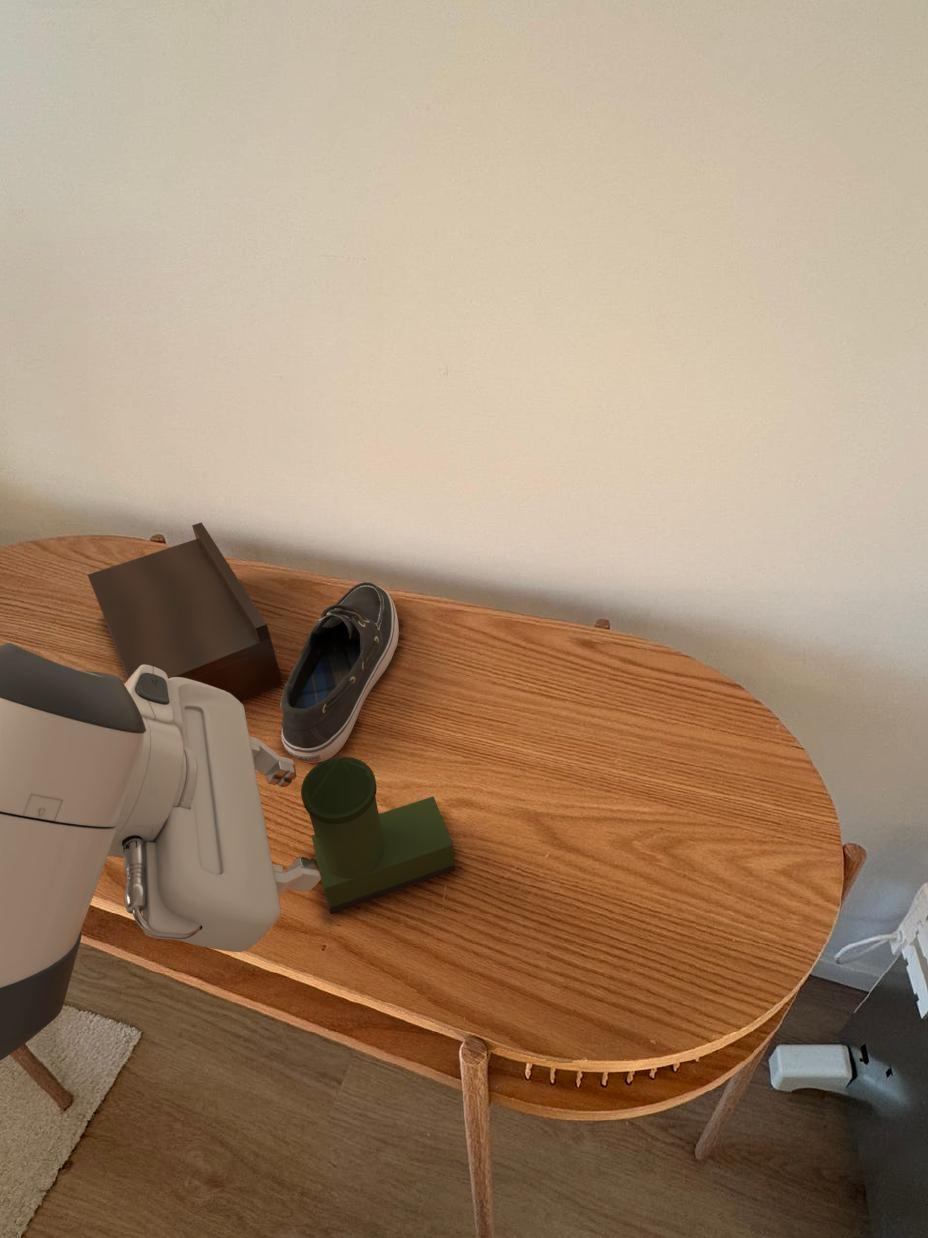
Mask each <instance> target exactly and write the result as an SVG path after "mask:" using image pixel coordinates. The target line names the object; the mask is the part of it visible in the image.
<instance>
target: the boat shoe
mask: <svg viewBox="0 0 928 1238" xmlns="http://www.w3.org/2000/svg"><path fill="white" fill-rule="evenodd" d="M399 630H400V629H399V619H398V613H397V610H396V605H395V603H394V600H393V598H392V597H391V595H390V594H389V592H388V591H386V589H384V588H382V587H381V586H378V585H376V584H374V583H372V582H360V583H357V584H355V585H354V586H353V587H351V588H350V589H349V590H348V591H347V592H346V593H345V594H344V595H343V596H342V597H341V598H340V599H339V600H338V601H337V602H336V603H335V604H332V605H329V606H328V607H326V608H325V609H324V610H323V611H322V613H321V615H320V618H319V619H318V621H317V622H316V623H315V625H314V626H313V627H312V628H311V631H310V633H309V635H308V637H307V638H306V640H305V643H304V646H303V648H302V650H301V652H300V654H299V657H298V659H297V660H296V662H295V664H294V666H293V667H292V669H291V672H290V674H289V676H288V679H287V680H286V682H285V684H284V688H283V691H282V693H281V698H280V702H279V706H280V709H281V711H282V719H281V723H280V725H281V735H280V736H281V741H282V745H283V746H284V750H285V751H286V752H287V753H288V754H289V755H290V756H291V757H292V758H294V759H296V760H298V761H301V762H303V763H307V764H318V763H321V762H323V761H325V760H327V759H330V758H333V757H335V755H337V754H338V752H340V751H341V749H342V748H343V747H344V745H345V744H346V743H347V741H348V739H349V738H350V735H351V734H352V731H353V729H354V726H355V725H356V722H357V720H358V717H359V715H360V712H361V709H362V707H363V706H364V703H365V701H366V699H367V698H368V695H369V694H370V692H371V690H372V689H373V688H374V686H375V684H376V683H377V682H378V681H379V679H380V678H381V676H382V675H383V674H384V673H385V671H386V670H387V668H388V666H389V664H390V663H391V661H392V658H393V656H394V654H395V651H396V649H397V647H398V641H399V635H400V632H399Z"/></svg>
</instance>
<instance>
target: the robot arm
mask: <svg viewBox="0 0 928 1238" xmlns="http://www.w3.org/2000/svg"><path fill="white" fill-rule="evenodd" d="M257 772H258V773H261V774H262V775H264V776H265V779H266V782H267V784H268V785H272V786H279V787H280V788H286V787H288V786H290V785H291V784H292V782H293V780H295V779H296V778H297V771H296V765H295V761H294V759H292V758H289V757H284V756H282V755H278V753H277V752H275V751H274V750H273V749H272V748H270V747H269V746H268V745H267V744H266V743H265V742H263V741H262V740H261V739H259V738H258V737H254V736H251V735H250V732H249V727H248V720H247V716H246V710H245V706H244V704H243V703H242V701H241V702H240V701H239V700H237V699H236V698H235V697H234V696H233V695H232V694H230V693H228V692H226V691H224V690H221V689H218V688H216V687H213V686H210V685H207V684H204V683H201V682H198V681H194V680H191V679H187V678H182V677H172V678H169V679H168V676H167V674H166V673H165V672H164V671H163V670H161V669H159V668H156V667H153V666H150V665H141V666H140V667H139V668H138V669H137V670H136V671H135V672H134V673H133V674H132V676H131V677H130V678H129V679H128V678H127V680H126V681H125V683H124V682H123V680H122V679H121V677H119V676H117V675H115V674H111V673H107V672H99V671H87V670H86V671H85V670H81V669H78V668H75V667H71V666H68V665H65V664H62V663H58V662H55V661H53V660H50V659H48V658H45V657H43V656H41V655H38V654H36V653H34V652H31V651H29V650H27V649H25V648H23V647H21V646H19V645H16V644H14V643H12V642H7V643H5V644H4V643H3V644H2V645H0V1062H1V1061H3V1060H4V1059H5V1058H7V1057H9V1056H10V1055H12V1054H13V1053H14V1052H16V1051H18V1049H20V1048H21V1047H23V1046H24V1045H26V1043H27V1042H30V1040H32V1039H33V1038H34V1037H36V1036H37V1035H38V1034H39V1033H40V1032H42V1030H44V1029H45V1028H46V1027H47V1026H48V1025H49V1024H51V1023H52V1022H54V1020H55V1019H56V1018H57V1017H58V1016H59V1015H60V1014H61V1012H62V1010H63V1007H64V1005H65V1000H66V997H67V993H68V990H69V986H70V982H71V978H72V975H73V971H74V968H75V967H74V966H75V963H76V959H77V956H78V952H79V948H80V945H81V941H82V928H83V925H84V923H85V919H86V917H87V914H88V912H89V909H90V907H91V904H92V901H93V898H94V895H95V892H96V889H97V886H98V884H99V881H100V878H101V876H102V873H103V870H104V867H105V865H106V862H107V859H108V857H113V858H120V859H123V871H124V877H125V889H124V894H123V896H124V897H123V902H124V906H125V911H126V912H127V913H128V914H130V915H132V917H133V919H134V921H135V923H136V924H137V925H138V926H139V927H140V929H142V931H143V934H144V935H146V936H147V937H150V938H153V939H158V940H160V939H161V940H172V941H178V942H183V943H186V944H189V945H192V946H193V945H194V946H197V947H203V948H208V949H211V950H212V949H213V950H218V951H224V952H230V953H231V952H232V953H243V952H245V951H248V950H249V949H251V948H253V946H254V945H256V944H258V942H259V941H261V939H263V938H264V937H265V936H266V935H267V934H268V933H269V932H270V930H271V929H272V927H273V926H274V925H276V923H277V922H278V921H279V919H280V918H281V916H282V915H281V914H282V909H281V902H280V898H279V897H280V896H281V895H283V894H285V893H287V892H288V891H289V890H292V891H299V892H308V891H311V890H312V889H313V888H314V887H316V885H318V883H320V881H322V879H321V875H320V871H319V867H318V862H317V859H316V858H310V859H309V858H308V857H306V856H297V858H295V860H294V861H293V863H292V865H289V866H288V867H287V868H286V869H285V870H284V868H283V866H282V865H281V864H277V863H273V858H272V853H271V848H270V842H269V836H268V831H267V826H266V819H265V815H264V809H263V803H262V798H261V793H260V787H259V782H258V777H257Z"/></svg>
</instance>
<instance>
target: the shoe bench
mask: <svg viewBox="0 0 928 1238" xmlns="http://www.w3.org/2000/svg"><path fill="white" fill-rule="evenodd" d="M191 527H192V530H193V534H194V536H195V538H194V539H193V540H188V541H186V542H183V543H180V544H177V545H174V546H171V547H167V548H165V549H161V550H158V551H155V552H153V553H150V554H146V555H143V556H140V557H138V558H135V559H130V560H128V561H125V562H122V563H118V564H115V565H112V566H110V567H107V568H104V569H101V570H97V571H94V572H92V573H89V574H87V578H88V580H89V583H90V586H91V588H92V591H93V593H94V595H95V598H96V601H97V603H98V605H99V608H100V611H101V613H102V615H103V618H104V621H105V623H106V626H107V628H108V631H109V633H110V636H111V638H112V641H113V643H114V646H115V649H116V652H117V654H118V656H119V659H120V661H121V664H122V666H123V669H124V671H125V674H126V677H127V680H128V679H129V678H130V677H131V676H132V674H133V673H134V672H135V671H136V670H137V669H138V668H139V667H140V666H141V665H150V666H153V667H156V668H159V669H161V670H163V671H164V672H165V673H166V674H167V676H168V679H169V678H172V677H182V678H187V679H191V680H194V681H198V682H201V683H204V684H207V685H210V686H213V687H216V688H218V689H221V690H224V691H226V692H228V693H230V694H232V695H233V696H234V697H235V698H236V699H237V700H239V701H240V702H241V703H242V702H244V701H246V700H249V699H251V698H253V697H255V696H258V695H261V694H263V693H265V692H267V691H270V690H272V689H274V688H276V687H278V686H279V687H280V686H281V685H283V684H284V682H283V680H282V679H283V678H282V675H281V672H280V671H281V670H280V667H279V664H278V660H277V656H276V653H275V649H274V645H273V642H272V639H271V633H270V630H269V628H268V626H269V625H268V624H267V622H266V620H265V619H264V617H263V615H262V614H261V613H260V611H259V609H258V607H257V606H256V605H255V603H254V601H253V600H252V598H251V597H250V595H249V593H248V592H247V590H246V589H245V587H244V586H243V584H242V583H241V581H240V579H238V577H237V575H236V574H235V572H234V570H233V569H232V567H231V566H230V564H229V562H228V561H227V559H226V557H224V555H223V553H222V552H221V550H220V548H219V547H218V546H217V544H216V543H215V541H214V539H213V538H212V536H211V535H210V533H209V532H208V530H207V528H206V527H205V525H204V524H203V522H202V521H201V522H198V523H195V524H192V525H191Z"/></svg>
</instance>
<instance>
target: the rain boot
mask: <svg viewBox="0 0 928 1238" xmlns="http://www.w3.org/2000/svg"><path fill="white" fill-rule="evenodd" d="M377 789H378V788H377V781H376V777H375V774H374V771H373V770H372V768H371V767H370V766H369V765H368V764H367V763H366V762H364V761H362V760H361V759H359V758H356V757H352V756H333V757H331V758H329V759H327V760H325V761H322V762H318V763H316V765H315V766H313V767H312V768H311V769H310V770H309V772H308V773H307V774H306V775H305V777H304V779H303V781H302V784H301V789H300V796H301V800H302V804H303V807H304V809H305V811H306V812H307V813H308V815H309V818H310V822H311V826H312V829H313V832H314V834H312V835H311V836H310V837H311V840H312V845H313V849H314V854H315V859H316V861H317V864H318V868H319V872H320V877H321V883H322V888H323V891H324V895H325V900H326V904H327V908H328V912H329V914H334V913H335V912H336V913H337V912H339V911H343V910H344V909H345V910H346V909H348V908H350V907H354V906H356V905H359V904H361V903H364V902H367V901H370V900H374V899H376V898H379V897H382V896H386V895H388V894H391V893H393V892H397V891H399V890H402V889H405V888H408V887H411V886H414V885H416V884H420V883H421V882H422V883H423V882H425V881H428V880H430V879H434V878H437V877H439V876H442V875H445V874H447V873H451V872H453V871H456V870H457V869H456V864H455V859H454V857H455V856H454V844H453V840H452V838H451V836H450V834H449V831H448V829H447V826H446V824H445V821H444V819H443V816H442V814H441V812H440V809H439V807H438V804H437V801H436V799H435V797H434V796H430V797H427V798H424V799H420V800H418V801H417V800H416V801H414V802H411V803H408V804H405V805H402V806H401V805H400V806H399V807H396V808H392V809H390V810H389V809H388V810H386V811H383V812H379V808H378V802H377Z"/></svg>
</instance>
